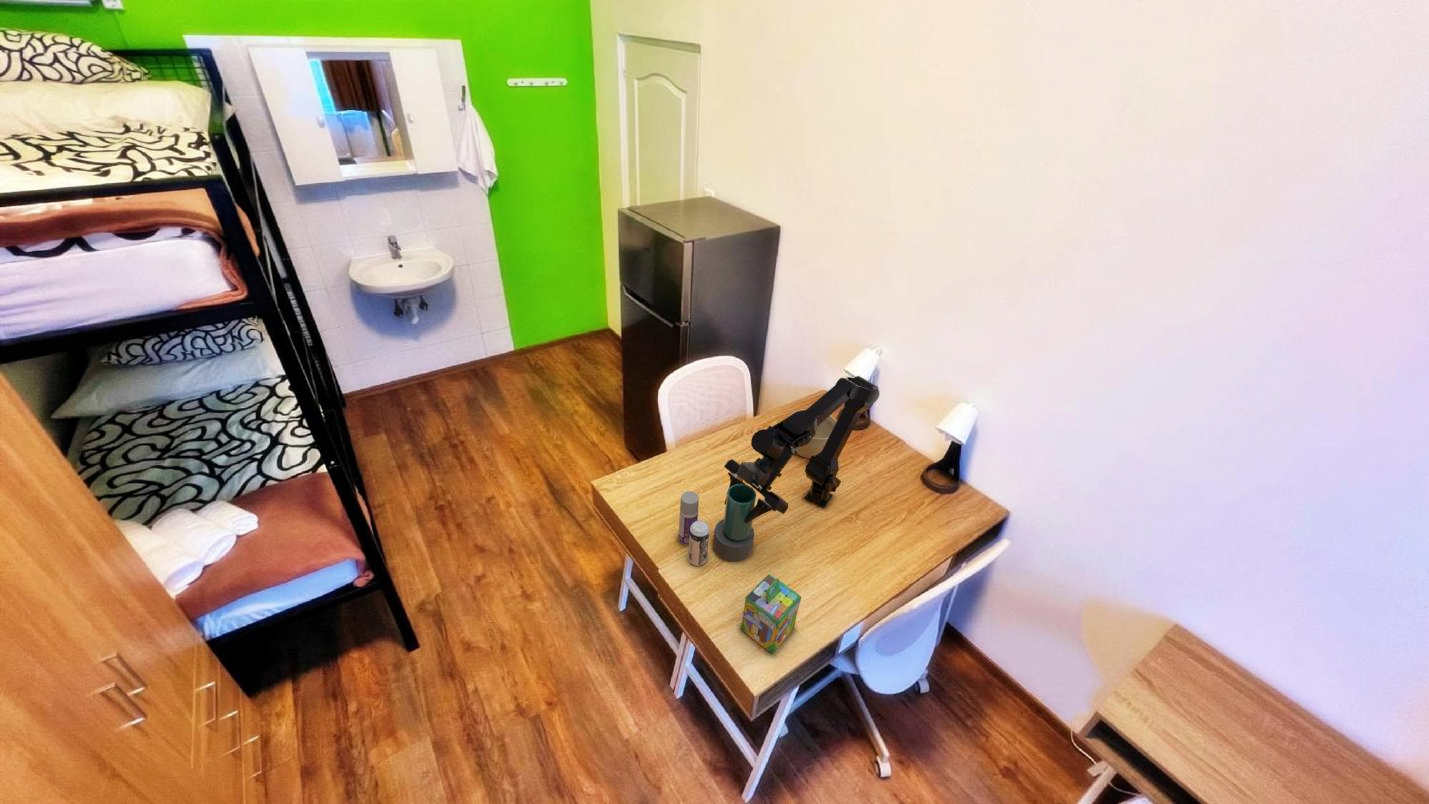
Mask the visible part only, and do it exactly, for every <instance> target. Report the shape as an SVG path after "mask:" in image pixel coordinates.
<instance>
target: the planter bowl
mask: <svg viewBox="0 0 1429 804" xmlns="http://www.w3.org/2000/svg"><path fill="white" fill-rule="evenodd" d="M806 409H807V408H803V409H798V410H795V411H793V412H792V413H790V415H792V414H793V413H795V412H797V411H803V410H806ZM836 422H837V420H836V418H834V417H833V416H832V415H830V416H829V417H828V418H826V419H825V420H824V421H823V422H822V423H821V424H820V425H819V426H818V427H817V431H816V435H815V436H814V437H813V438H812V439H811V441H810V442H809V443H808V444H807V445H805V446H803V447H798V448H797V452H798V455H797V456H800V457H802V458H804V459H810V457H811V456H813V455H814V456H815V455H816V454H818V453H820V452H821V451H822V449H823V447H824V446H825V444H826V442H827V440H828V438H829V436H830V434H831V432H832V430H833V428H834V426H835V424H836Z"/></svg>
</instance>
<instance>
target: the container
mask: <svg viewBox="0 0 1429 804" xmlns="http://www.w3.org/2000/svg"><path fill="white" fill-rule="evenodd" d="M680 495H681V496H680V504H679V506H680V507H679V519H678V536H677V540H678V542H679V544H681V545H683V546H685V547H689V538H690V527H691V525H692V524H693V523H694V522H695V521H697V520H699V503H700V501H699V500H700V497H699V494H698V493H697V492H695V491H692V490H688V491H684V492H683V493H682V494H680Z"/></svg>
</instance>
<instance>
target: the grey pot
mask: <svg viewBox="0 0 1429 804" xmlns="http://www.w3.org/2000/svg"><path fill="white" fill-rule="evenodd" d="M723 525H724V518H722V519H721V520H719V521H718V522H717V523H716V525H715V526H714V531H713V537H712V538H713V540H712V549H713V550H714V553H715V554H716V556H718V557H719V558H720V559H722V560H724V561H726V562H730V563H731V562H732V563H734V562H735V563H736V562H742V561H744V560H746V559H747V558H749V557H750V555H751V554H752V551H753V544H754V539H755V530H754V528H753V526H752V527H751V533H750V535H749V536H748V537H747V538H746V539H743V540H733V539H731V538H729V537H727V536H726V535H725V533H724V530H723Z"/></svg>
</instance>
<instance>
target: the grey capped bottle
mask: <svg viewBox="0 0 1429 804" xmlns="http://www.w3.org/2000/svg"><path fill="white" fill-rule="evenodd" d="M710 531H711V529H710V525H709V524H708V523H707V522H706V521H704V520H702V519H701V520H700V519H698V520H697V521H695V522H694V523H693V524H692V525H691V527H690V538H689V546H688V554H687V555H688V556H687V559H688V562H689V563H690V564H692V565H694V566H697V567H698V566H702V565H704V564H705V563H706V562H707V560H708V551H709V541H710V540H709V539H710Z"/></svg>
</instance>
